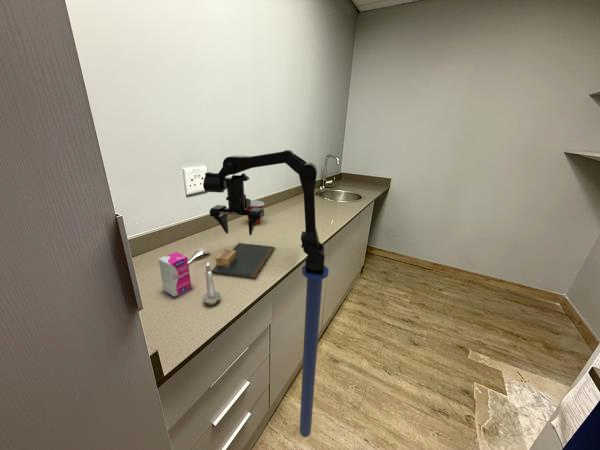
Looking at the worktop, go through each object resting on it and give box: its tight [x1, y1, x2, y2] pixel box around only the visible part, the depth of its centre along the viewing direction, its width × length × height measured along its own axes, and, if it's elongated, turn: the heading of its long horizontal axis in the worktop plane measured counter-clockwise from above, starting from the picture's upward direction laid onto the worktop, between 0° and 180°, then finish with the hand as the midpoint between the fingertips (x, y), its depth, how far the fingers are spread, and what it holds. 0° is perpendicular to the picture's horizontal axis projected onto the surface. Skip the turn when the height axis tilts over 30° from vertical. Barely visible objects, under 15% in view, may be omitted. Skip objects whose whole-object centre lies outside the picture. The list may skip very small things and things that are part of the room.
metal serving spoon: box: [188, 248, 210, 264], centre depth 89 cm, size 20×4×5 cm
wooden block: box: [215, 248, 237, 269], centre depth 88 cm, size 4×7×4 cm, turn 170°
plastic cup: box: [245, 199, 265, 226], centre depth 131 cm, size 11×11×12 cm
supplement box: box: [158, 251, 192, 299], centre depth 73 cm, size 6×6×12 cm
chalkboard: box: [211, 242, 275, 280], centre depth 94 cm, size 16×24×1 cm, turn 170°
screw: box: [201, 262, 221, 306], centre depth 68 cm, size 13×5×5 cm
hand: (238, 234), depth 90 cm, fingers open, 9 cm apart
